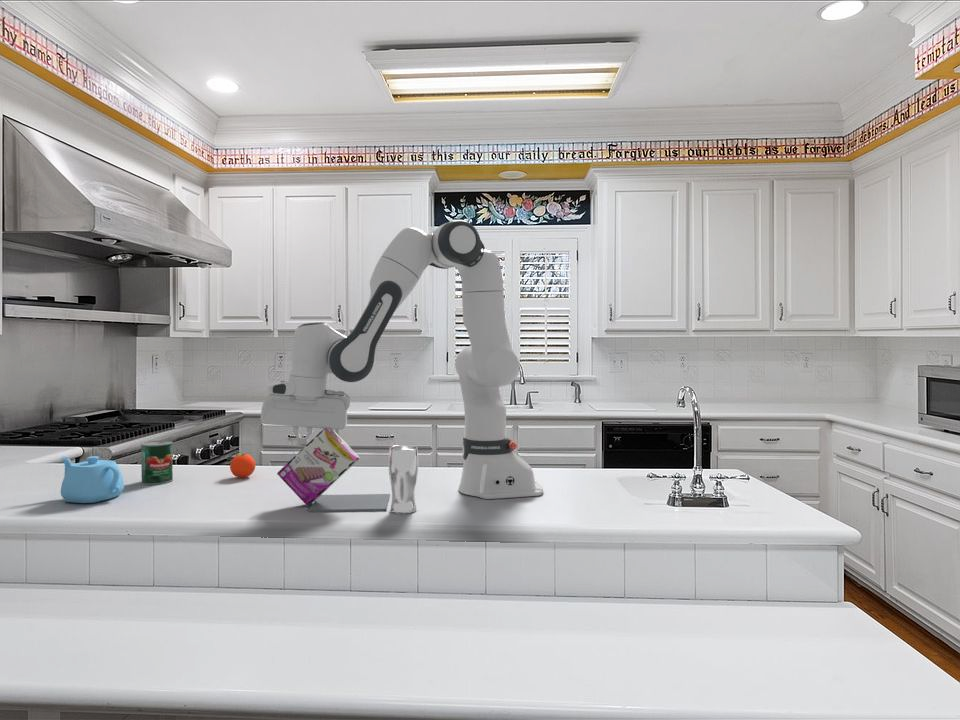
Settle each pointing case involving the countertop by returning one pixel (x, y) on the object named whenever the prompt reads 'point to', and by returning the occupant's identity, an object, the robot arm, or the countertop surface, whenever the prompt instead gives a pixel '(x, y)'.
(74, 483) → the teapot
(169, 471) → the canned tomato
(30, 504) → the countertop surface
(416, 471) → the beer glass
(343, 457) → the candy bar box
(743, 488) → the countertop surface
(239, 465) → the clementine
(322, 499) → the grey rubber mat
